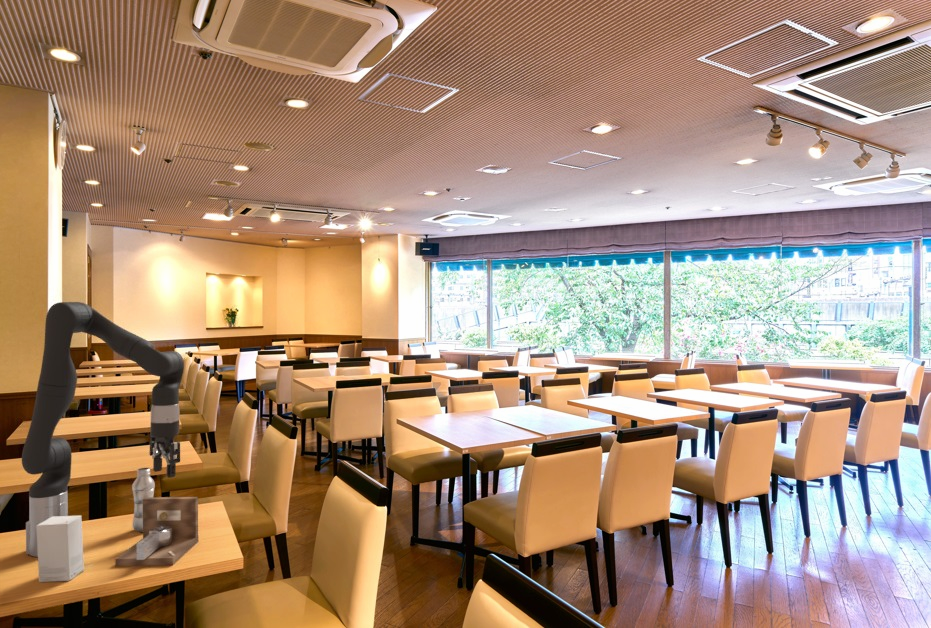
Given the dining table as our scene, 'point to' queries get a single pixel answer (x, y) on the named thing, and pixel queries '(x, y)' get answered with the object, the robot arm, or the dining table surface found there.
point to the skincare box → (60, 548)
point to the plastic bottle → (141, 495)
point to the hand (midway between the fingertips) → (164, 473)
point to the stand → (168, 513)
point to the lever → (154, 541)
